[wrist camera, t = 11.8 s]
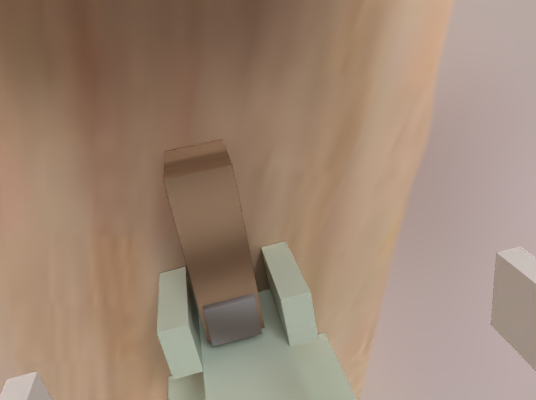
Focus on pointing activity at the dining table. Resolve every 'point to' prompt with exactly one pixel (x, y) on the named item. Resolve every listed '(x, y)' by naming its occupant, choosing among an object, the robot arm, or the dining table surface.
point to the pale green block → (250, 343)
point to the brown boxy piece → (213, 240)
